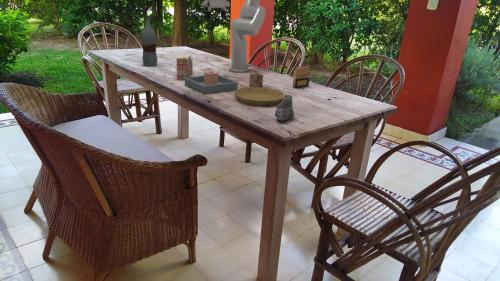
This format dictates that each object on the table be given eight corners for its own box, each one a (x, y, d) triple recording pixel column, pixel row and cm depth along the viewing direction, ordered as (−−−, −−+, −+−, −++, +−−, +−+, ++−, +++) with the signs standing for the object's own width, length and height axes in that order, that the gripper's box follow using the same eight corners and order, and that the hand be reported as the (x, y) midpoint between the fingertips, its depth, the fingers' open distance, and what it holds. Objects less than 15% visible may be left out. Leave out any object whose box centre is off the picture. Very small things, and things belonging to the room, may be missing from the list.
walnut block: (256, 85, 203) (257, 72, 200) (262, 87, 199) (263, 74, 196) (249, 86, 200) (249, 73, 197) (255, 88, 196) (255, 75, 193)
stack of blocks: (182, 71, 224) (182, 51, 220) (192, 72, 225) (192, 51, 220) (176, 80, 205) (176, 57, 200) (188, 80, 205) (187, 58, 200)
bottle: (140, 64, 236) (137, 15, 224) (153, 63, 242) (150, 15, 230) (147, 67, 230) (144, 16, 218) (160, 66, 235) (158, 16, 224)
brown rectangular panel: (294, 88, 201) (297, 66, 196) (292, 87, 202) (294, 65, 198) (308, 86, 207) (311, 64, 202) (306, 85, 208) (308, 64, 204)
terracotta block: (212, 84, 197) (212, 71, 194) (217, 86, 193) (217, 72, 190) (204, 85, 194) (204, 71, 191) (209, 87, 190) (209, 73, 188)
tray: (216, 81, 207) (216, 74, 205) (237, 89, 192) (238, 82, 191) (184, 85, 195) (184, 77, 194) (204, 94, 181) (204, 86, 179)
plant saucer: (255, 90, 194) (256, 84, 193) (293, 100, 180) (294, 94, 179) (223, 99, 177) (223, 92, 175) (263, 111, 163) (263, 104, 161)
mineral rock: (279, 124, 147) (281, 100, 143) (262, 116, 155) (263, 93, 151) (302, 119, 155) (304, 96, 151) (284, 112, 162) (286, 89, 158)
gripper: (226, -15, 203) (225, 18, 210) (198, -16, 193) (198, 18, 200) (234, -14, 198) (232, 19, 205) (206, -16, 188) (206, 19, 195)
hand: (216, 19), depth 202 cm, fingers open, 9 cm apart
